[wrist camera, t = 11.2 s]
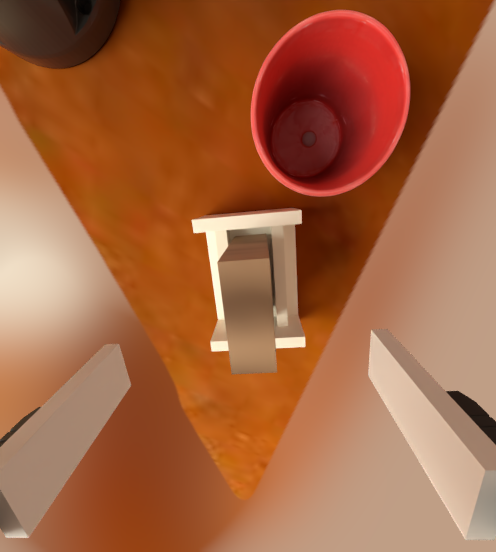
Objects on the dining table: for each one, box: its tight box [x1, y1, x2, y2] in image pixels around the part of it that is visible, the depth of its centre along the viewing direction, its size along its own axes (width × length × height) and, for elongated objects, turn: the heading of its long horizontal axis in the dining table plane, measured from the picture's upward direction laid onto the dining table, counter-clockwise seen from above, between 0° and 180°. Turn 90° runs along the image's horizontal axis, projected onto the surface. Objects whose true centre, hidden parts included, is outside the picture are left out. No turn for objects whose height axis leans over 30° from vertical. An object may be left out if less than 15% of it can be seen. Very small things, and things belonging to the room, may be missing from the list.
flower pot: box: [251, 10, 410, 197], centre depth 21 cm, size 11×11×10 cm
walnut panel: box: [217, 234, 277, 374], centre depth 24 cm, size 9×4×12 cm, turn 5°
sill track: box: [192, 208, 305, 351], centre depth 27 cm, size 14×10×6 cm
